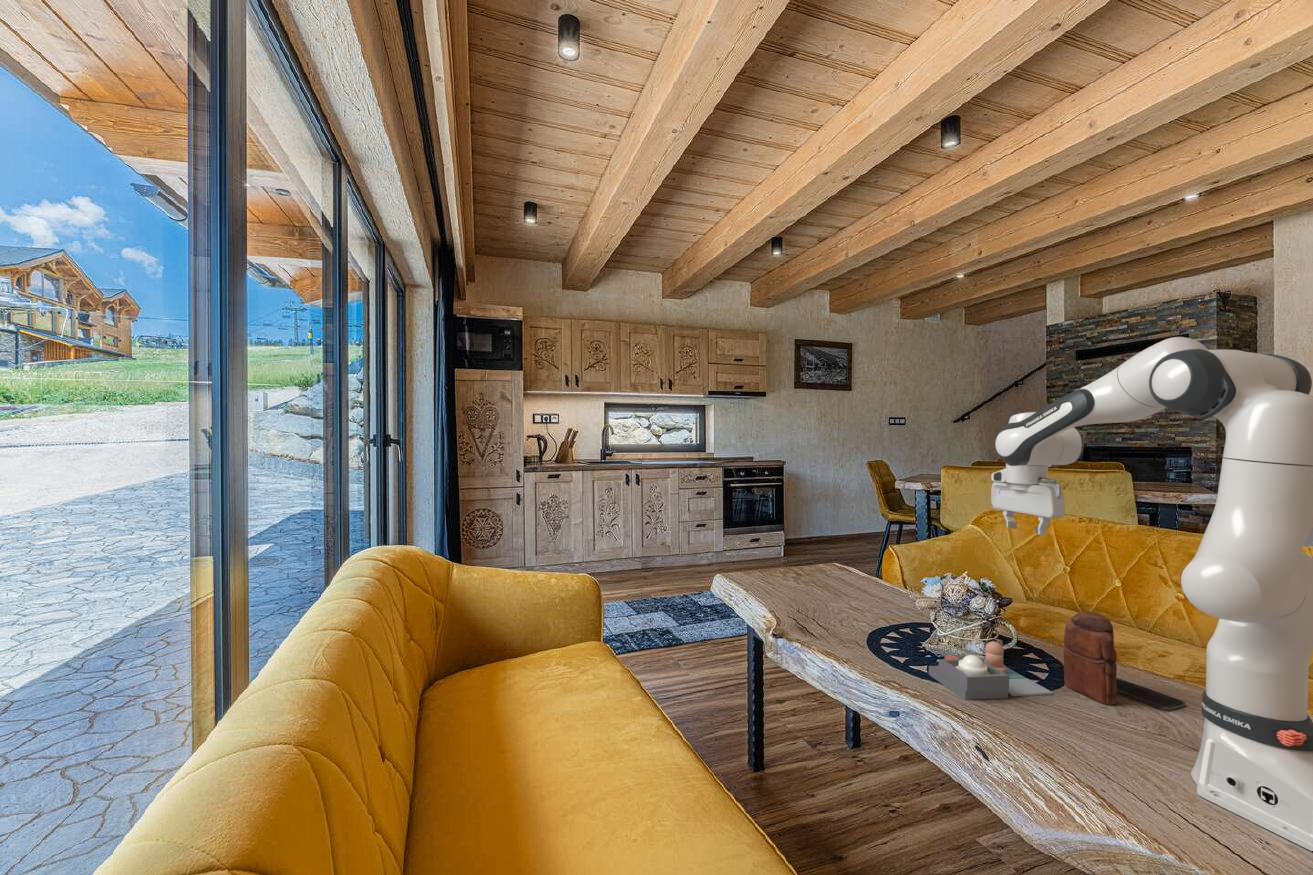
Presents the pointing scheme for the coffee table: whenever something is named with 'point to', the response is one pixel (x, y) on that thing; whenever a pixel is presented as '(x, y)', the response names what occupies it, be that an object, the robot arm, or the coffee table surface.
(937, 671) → the dome base
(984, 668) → the dome
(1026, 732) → the coffee table surface
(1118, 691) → the phone
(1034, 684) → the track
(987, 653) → the pawn
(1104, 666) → the brown leather bag
